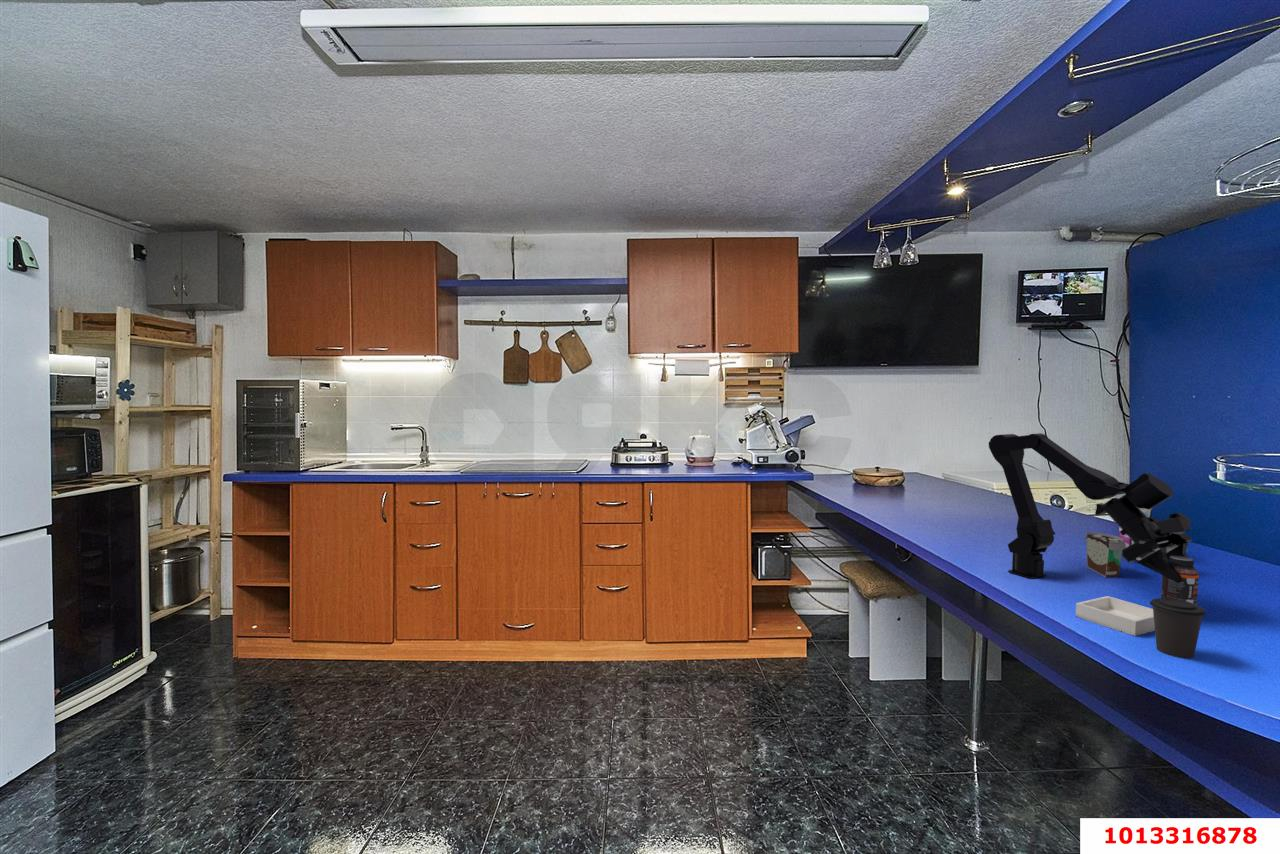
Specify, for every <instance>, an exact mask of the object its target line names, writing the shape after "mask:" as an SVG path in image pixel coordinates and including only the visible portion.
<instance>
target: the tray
mask: <svg viewBox="0 0 1280 854" xmlns="http://www.w3.org/2000/svg"><path fill="white" fill-rule="evenodd" d="M1076 616H1077V617H1076ZM1075 617H1076V618H1078V617H1079V618H1078V619H1081V618H1082V619H1081V620H1084V621H1088V622H1090V623H1094V624H1097V625H1100V626H1102V627H1106V628H1109V629H1111V628H1112V629H1113V630H1114V631H1115V630H1116V631H1118V632H1121V631H1122V633H1123V634H1127V635H1130V634H1131V635H1130V636H1133V635H1134V636H1133V637H1137V635H1138V636H1141V634H1142V635H1144V634H1149V633H1153V632H1155V626H1154V615H1153V608H1151V607H1149V606H1143V605H1141V604H1137V603H1134V602H1130V601H1126V600H1123V599H1120V598H1116V597H1112V596H1108V595H1105V596H1101V597H1097V598H1092V599H1088V600H1085V601H1084V600H1083V601H1080V602H1076V604H1075ZM1148 632H1149V633H1148Z"/></svg>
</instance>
